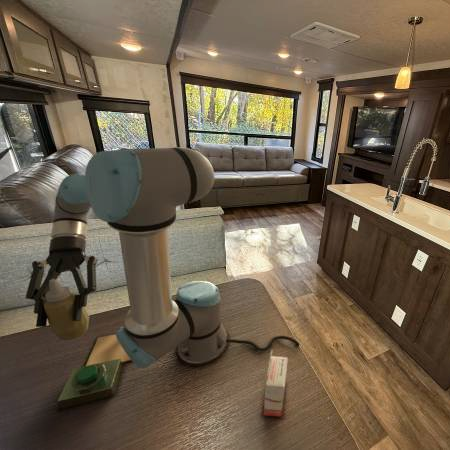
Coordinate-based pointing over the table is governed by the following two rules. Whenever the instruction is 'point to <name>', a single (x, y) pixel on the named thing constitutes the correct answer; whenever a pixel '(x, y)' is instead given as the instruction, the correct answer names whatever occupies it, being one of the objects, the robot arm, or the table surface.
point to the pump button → (87, 375)
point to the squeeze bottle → (63, 312)
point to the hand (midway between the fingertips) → (59, 323)
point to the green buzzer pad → (91, 384)
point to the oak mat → (107, 351)
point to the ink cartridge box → (275, 386)
